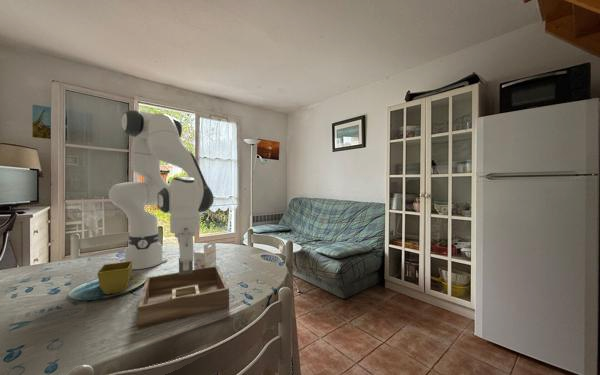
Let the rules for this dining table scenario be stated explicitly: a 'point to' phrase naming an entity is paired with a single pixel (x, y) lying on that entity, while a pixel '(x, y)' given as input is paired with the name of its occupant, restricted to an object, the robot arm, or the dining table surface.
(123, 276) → the flower pot
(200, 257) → the ink cartridge box
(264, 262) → the dining table surface
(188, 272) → the plain grey cube
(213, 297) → the walled box
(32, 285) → the dining table surface
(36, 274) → the dining table surface
